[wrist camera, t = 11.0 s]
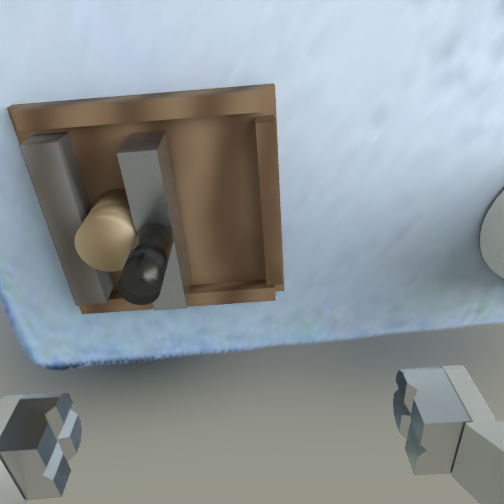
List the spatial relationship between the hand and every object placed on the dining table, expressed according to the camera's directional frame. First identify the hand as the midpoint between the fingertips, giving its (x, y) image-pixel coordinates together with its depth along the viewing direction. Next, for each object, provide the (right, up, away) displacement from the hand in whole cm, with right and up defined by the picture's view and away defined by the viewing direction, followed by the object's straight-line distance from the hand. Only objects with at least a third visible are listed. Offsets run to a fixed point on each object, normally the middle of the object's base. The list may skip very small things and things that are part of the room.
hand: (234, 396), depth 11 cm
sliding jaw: (-8, +7, +30) cm, 32 cm away
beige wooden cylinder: (-12, +7, +31) cm, 34 cm away
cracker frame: (-8, +8, +31) cm, 33 cm away
